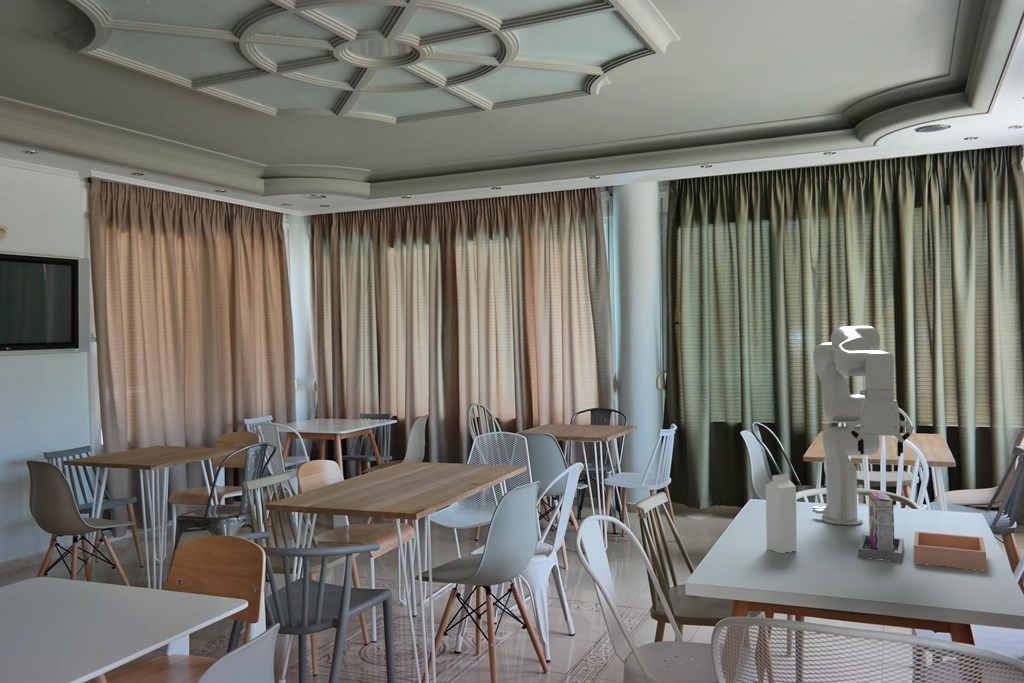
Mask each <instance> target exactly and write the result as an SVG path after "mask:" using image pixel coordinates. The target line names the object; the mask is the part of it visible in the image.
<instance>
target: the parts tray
mask: <svg viewBox="0 0 1024 683" xmlns="http://www.w3.org/2000/svg"><path fill="white" fill-rule="evenodd" d="M866 544H870V535H867V534H866V535H865V534H863V535H862V537H861V539H860V542H859V545H858V548H857V558H858V557H862V558H861V559H865V558H872V559H871V560H874V559H883V560H882V561H884V560H890V561H889V562H893V561H900V562H899V563H902V562H903V555H904V550H905V549H904V548H905V546H904V544H905V539H904V538H898V537H897V538H896V537H894V548H896V547H898V548H897V551H894V552H893V551H883V550H873V549H871V548H870V549H869V548H866V547H865V546H867V545H866ZM903 549H904V550H903Z"/></svg>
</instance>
